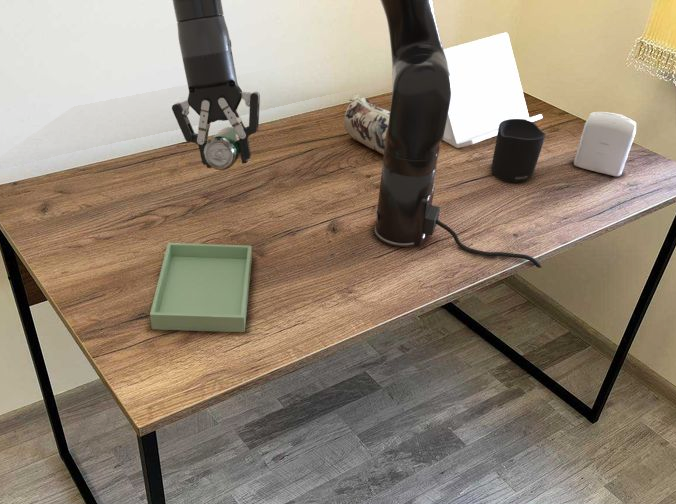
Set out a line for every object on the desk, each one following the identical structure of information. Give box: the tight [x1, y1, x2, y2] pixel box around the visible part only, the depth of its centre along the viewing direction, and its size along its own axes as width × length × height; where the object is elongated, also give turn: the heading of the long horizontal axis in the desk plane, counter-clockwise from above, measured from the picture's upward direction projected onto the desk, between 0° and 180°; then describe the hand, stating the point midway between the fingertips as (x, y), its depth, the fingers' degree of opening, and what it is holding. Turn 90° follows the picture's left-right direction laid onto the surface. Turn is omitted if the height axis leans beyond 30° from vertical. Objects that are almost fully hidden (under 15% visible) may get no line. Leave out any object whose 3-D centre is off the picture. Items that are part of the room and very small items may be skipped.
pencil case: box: [343, 94, 390, 156], centre depth 157 cm, size 22×8×10 cm, turn 43°
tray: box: [149, 242, 253, 333], centre depth 120 cm, size 19×14×3 cm
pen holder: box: [491, 119, 547, 184], centre depth 153 cm, size 9×9×10 cm
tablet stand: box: [442, 32, 543, 149], centre depth 167 cm, size 18×25×17 cm
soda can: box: [204, 126, 241, 171], centre depth 118 cm, size 5×5×12 cm
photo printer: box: [573, 111, 637, 177], centre depth 156 cm, size 10×4×12 cm, turn 63°
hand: (227, 164), depth 118 cm, fingers closed on soda can, 5 cm apart
